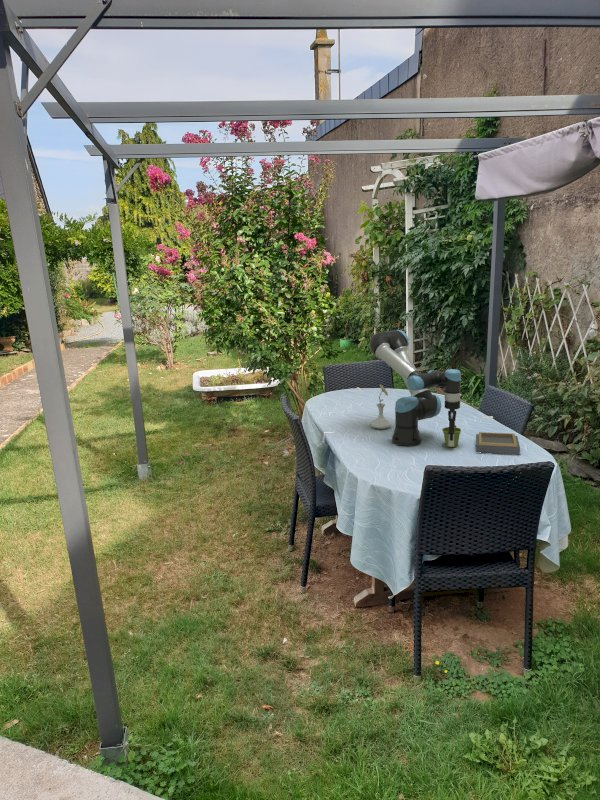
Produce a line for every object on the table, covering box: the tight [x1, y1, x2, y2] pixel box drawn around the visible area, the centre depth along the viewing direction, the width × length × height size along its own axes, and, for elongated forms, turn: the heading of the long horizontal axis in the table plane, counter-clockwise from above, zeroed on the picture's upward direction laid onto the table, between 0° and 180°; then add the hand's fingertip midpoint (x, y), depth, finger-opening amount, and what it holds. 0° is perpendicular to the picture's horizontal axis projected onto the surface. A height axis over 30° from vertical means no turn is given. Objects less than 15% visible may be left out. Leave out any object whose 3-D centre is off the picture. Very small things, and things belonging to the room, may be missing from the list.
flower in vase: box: [370, 384, 392, 430], centre depth 324 cm, size 13×11×25 cm
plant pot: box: [441, 426, 462, 448], centre depth 290 cm, size 9×9×9 cm
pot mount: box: [475, 431, 521, 456], centre depth 284 cm, size 20×18×5 cm
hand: (451, 442), depth 291 cm, fingers closed on plant pot, 9 cm apart
